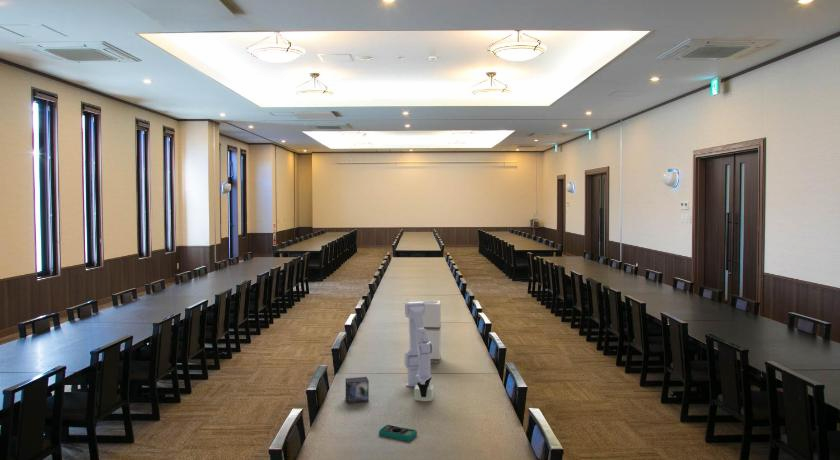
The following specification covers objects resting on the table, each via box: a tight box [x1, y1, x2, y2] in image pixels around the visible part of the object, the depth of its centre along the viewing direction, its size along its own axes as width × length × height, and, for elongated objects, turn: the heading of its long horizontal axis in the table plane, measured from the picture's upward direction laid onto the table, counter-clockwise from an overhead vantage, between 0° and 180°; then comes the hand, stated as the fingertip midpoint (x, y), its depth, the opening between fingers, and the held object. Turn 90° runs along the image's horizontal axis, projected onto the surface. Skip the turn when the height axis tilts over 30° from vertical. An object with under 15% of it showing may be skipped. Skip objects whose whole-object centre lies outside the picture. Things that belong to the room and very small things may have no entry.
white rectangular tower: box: [422, 300, 442, 364], centre depth 343 cm, size 11×11×35 cm
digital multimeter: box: [378, 424, 418, 442], centre depth 235 cm, size 7×15×3 cm, turn 64°
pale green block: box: [413, 384, 434, 402], centre depth 278 cm, size 6×8×6 cm
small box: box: [344, 376, 370, 404], centre depth 275 cm, size 11×6×10 cm, turn 105°
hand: (424, 394), depth 278 cm, fingers open, 7 cm apart
